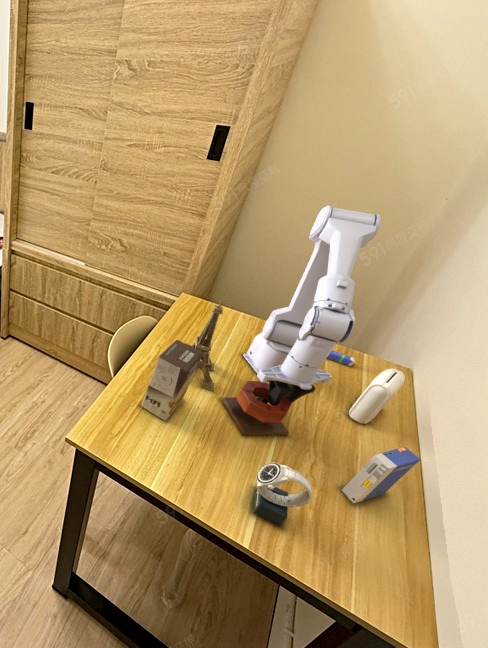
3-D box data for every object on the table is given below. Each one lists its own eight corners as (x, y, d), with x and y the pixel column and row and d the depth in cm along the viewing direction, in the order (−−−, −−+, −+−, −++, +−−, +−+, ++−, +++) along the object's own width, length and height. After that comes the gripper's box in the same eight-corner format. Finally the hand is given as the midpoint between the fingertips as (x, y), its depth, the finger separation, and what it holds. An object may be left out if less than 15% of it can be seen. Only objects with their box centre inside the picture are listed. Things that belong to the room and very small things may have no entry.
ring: (230, 390, 96) (235, 380, 94) (268, 391, 96) (274, 381, 94) (251, 422, 88) (257, 412, 86) (292, 423, 88) (299, 413, 86)
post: (221, 400, 98) (230, 383, 95) (261, 401, 98) (271, 384, 95) (242, 435, 90) (253, 418, 86) (286, 435, 90) (299, 418, 87)
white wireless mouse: (361, 396, 100) (390, 360, 93) (382, 408, 97) (414, 372, 90) (343, 414, 95) (373, 378, 88) (365, 427, 92) (397, 390, 85)
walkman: (369, 481, 81) (405, 445, 75) (383, 494, 79) (422, 458, 72) (339, 490, 80) (373, 453, 73) (353, 503, 77) (389, 467, 71)
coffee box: (165, 422, 92) (186, 372, 83) (140, 406, 96) (157, 356, 87) (182, 400, 98) (204, 351, 89) (158, 386, 102) (176, 338, 92)
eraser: (350, 367, 109) (354, 361, 108) (324, 357, 112) (327, 352, 111) (350, 362, 110) (354, 357, 109) (324, 353, 113) (327, 348, 112)
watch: (244, 484, 80) (267, 451, 74) (291, 506, 77) (319, 473, 71) (241, 507, 76) (265, 474, 70) (291, 532, 73) (320, 499, 67)
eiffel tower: (171, 352, 112) (200, 276, 98) (213, 364, 108) (249, 287, 94) (168, 377, 104) (199, 299, 90) (213, 391, 101) (252, 311, 86)
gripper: (283, 371, 80) (255, 416, 88) (354, 372, 80) (321, 416, 88) (262, 347, 86) (239, 391, 93) (329, 348, 86) (300, 392, 94)
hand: (277, 402), depth 91 cm, fingers closed on ring, 2 cm apart
